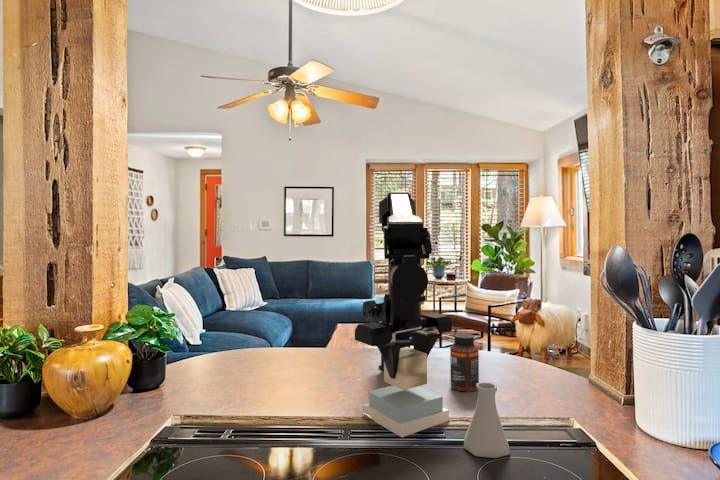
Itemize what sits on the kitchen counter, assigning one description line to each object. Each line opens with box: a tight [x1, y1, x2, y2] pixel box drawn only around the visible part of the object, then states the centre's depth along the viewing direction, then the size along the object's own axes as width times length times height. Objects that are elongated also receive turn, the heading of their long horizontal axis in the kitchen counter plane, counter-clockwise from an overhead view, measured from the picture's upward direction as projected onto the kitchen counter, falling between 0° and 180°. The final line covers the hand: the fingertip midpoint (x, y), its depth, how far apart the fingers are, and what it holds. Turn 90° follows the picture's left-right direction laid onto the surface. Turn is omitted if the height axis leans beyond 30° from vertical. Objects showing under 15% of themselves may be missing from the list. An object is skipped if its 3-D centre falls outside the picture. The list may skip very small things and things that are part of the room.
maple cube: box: [383, 347, 428, 390], centre depth 83 cm, size 6×6×6 cm
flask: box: [463, 381, 511, 459], centre depth 72 cm, size 7×7×10 cm
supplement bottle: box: [449, 332, 480, 392], centre depth 98 cm, size 6×6×11 cm
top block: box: [368, 385, 444, 424], centre depth 83 cm, size 10×10×2 cm
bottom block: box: [362, 402, 450, 438], centre depth 83 cm, size 11×11×2 cm
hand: (405, 374), depth 83 cm, fingers open, 6 cm apart
